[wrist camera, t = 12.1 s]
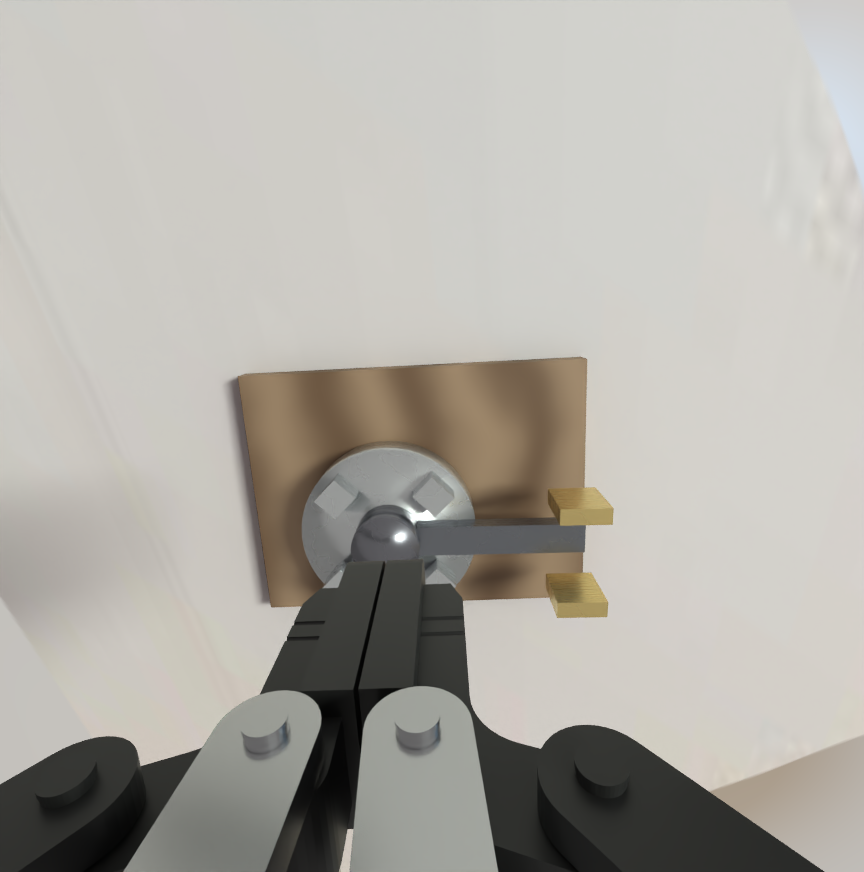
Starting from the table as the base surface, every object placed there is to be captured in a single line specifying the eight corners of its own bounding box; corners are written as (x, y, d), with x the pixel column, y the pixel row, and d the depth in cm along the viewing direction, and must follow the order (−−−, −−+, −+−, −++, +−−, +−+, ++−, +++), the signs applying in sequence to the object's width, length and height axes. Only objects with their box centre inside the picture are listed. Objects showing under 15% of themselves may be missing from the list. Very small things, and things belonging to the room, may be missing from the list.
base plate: (277, 596, 40) (270, 608, 39) (246, 373, 36) (236, 376, 35) (576, 585, 40) (582, 597, 38) (581, 357, 35) (587, 359, 34)
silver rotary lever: (303, 443, 35) (269, 475, 28) (581, 435, 35) (615, 466, 28) (318, 594, 38) (290, 657, 31) (575, 590, 38) (605, 652, 31)
